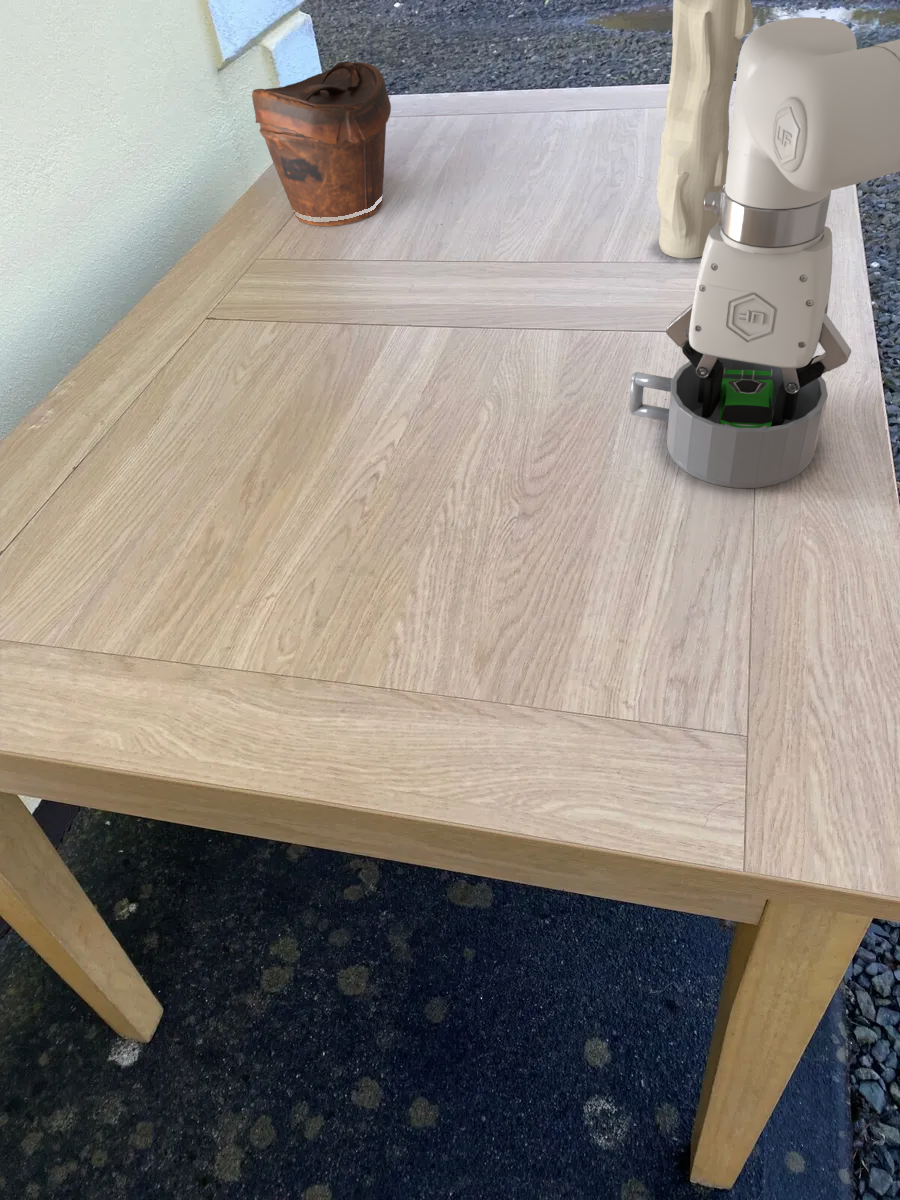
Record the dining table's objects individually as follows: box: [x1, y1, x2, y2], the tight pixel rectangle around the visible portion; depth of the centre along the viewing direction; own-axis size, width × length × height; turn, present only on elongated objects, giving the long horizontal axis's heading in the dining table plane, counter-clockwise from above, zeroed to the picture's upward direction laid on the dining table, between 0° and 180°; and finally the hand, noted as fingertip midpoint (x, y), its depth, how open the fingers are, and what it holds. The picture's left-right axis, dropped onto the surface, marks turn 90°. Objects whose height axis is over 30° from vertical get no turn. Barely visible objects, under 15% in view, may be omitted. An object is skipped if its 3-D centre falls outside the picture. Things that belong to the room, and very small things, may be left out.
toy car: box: [717, 367, 774, 428], centre depth 81 cm, size 10×5×2 cm, turn 167°
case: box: [251, 61, 392, 227], centre depth 125 cm, size 18×20×18 cm
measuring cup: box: [629, 358, 828, 489], centre depth 82 cm, size 17×13×6 cm
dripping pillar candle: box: [656, 0, 754, 259], centre depth 101 cm, size 9×8×30 cm
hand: (744, 414), depth 81 cm, fingers closed on toy car, 5 cm apart
